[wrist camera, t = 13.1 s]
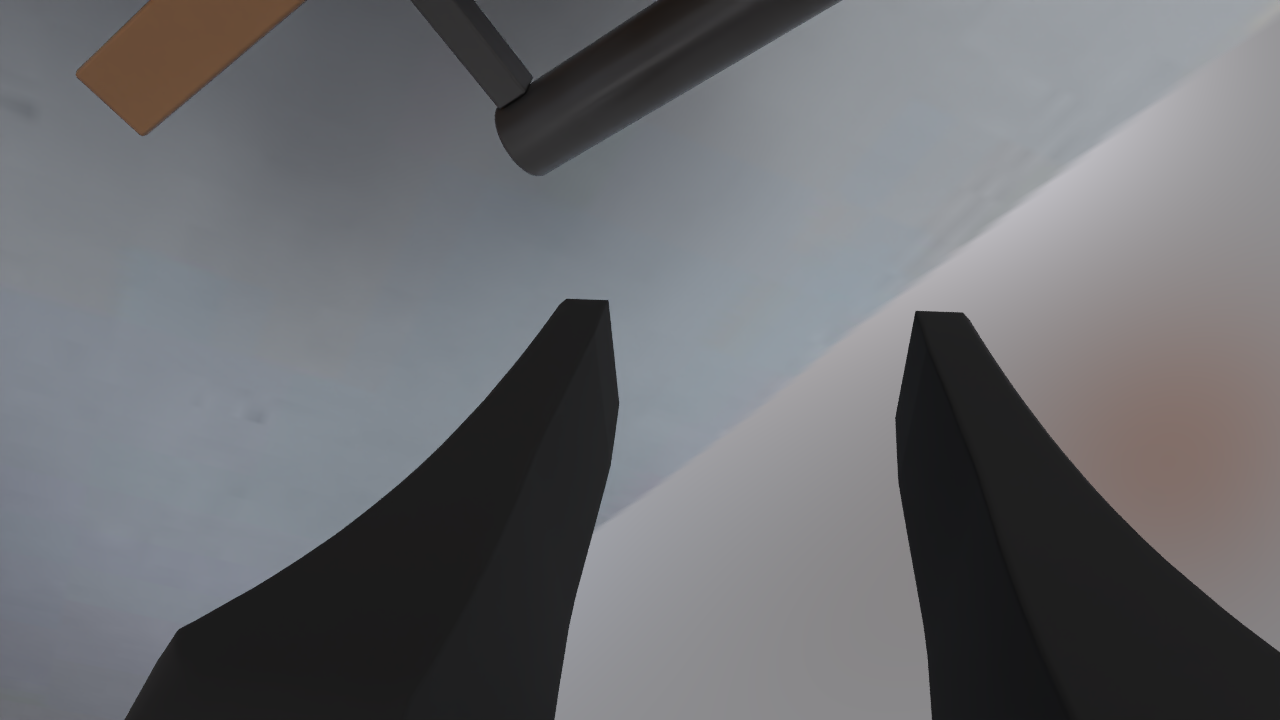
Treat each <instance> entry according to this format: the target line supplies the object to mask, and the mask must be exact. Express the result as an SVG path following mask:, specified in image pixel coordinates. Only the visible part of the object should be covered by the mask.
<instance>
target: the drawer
mask: <svg viewBox="0 0 1280 720" xmlns="http://www.w3.org/2000/svg"><path fill="white" fill-rule="evenodd" d="M305 1H307V0H149V1H148V2H147V3H146V4H145V5H144V6H143V7H142V8H141V9H140V10H139V11H138V12H137V13H136V14H135V15H134V16H133V17H132V18H131V19H130V20H129V21H128V22H127V23H126V24H125V25H124V26H123V27H121V28H120V29H119V30H118V31H117V32H116V33H115V34H114V35H113V36H112V37H111V38H110V39H109V40H108V41H107V42H106V43H105V44H104V45H103V46H102V47H101V48H100V49H99V50H98V51H97V52H96V53H95V54H93V55H92V56H91V57H90V58H89V59H88V60H87V61H86V62H85V63H84V64H83V65H82V66H81V67H80V68H79V69H78V70H77V72H76V76H77V78H78V79H79V80H80V81H82V82H83V83H84V84H85V85H86V86H87V87H88V88H89V89H90V90H91V91H92V92H94V93H95V94H96V95H97V96H98V97H99V98H100V99H101V100H102V101H103V102H104V103H105V104H107V105H108V106H109V107H110V108H111V109H112V110H113V111H114V112H115V113H116V114H117V115H119V116H120V117H121V118H122V119H123V120H124V121H125V122H126V123H127V124H128V125H129V126H131V127H132V128H133V129H134V130H135V131H136V132H137V133H138V134H139V135H141V136H144V135H147V134H149V133H150V132H151V131H152V130H153V129H154V128H156V127H157V126H158V125H159V124H160V123H162V122H163V121H164V120H165V119H166V118H168V117H169V116H170V115H171V114H172V113H173V112H175V111H176V110H177V109H178V108H179V107H181V106H182V105H183V104H184V103H185V102H187V101H188V100H189V99H190V98H191V97H193V96H194V95H195V94H196V93H197V92H198V91H200V90H201V89H202V88H203V87H204V86H206V85H207V84H208V83H209V82H210V81H212V80H213V79H214V78H215V77H216V76H217V75H219V74H220V73H221V72H222V71H223V70H225V69H226V68H227V67H228V66H229V65H231V64H232V63H233V62H234V61H235V60H237V59H238V58H239V57H240V56H241V55H242V54H244V53H245V52H246V51H247V50H248V49H250V48H251V47H252V46H253V45H254V44H256V43H257V42H258V41H259V40H260V39H261V38H263V37H264V36H265V35H266V34H267V33H269V32H270V31H271V30H272V29H273V28H275V27H276V26H277V25H278V24H279V23H280V22H282V21H283V20H284V19H285V18H286V17H288V16H289V15H290V14H291V13H292V12H294V11H295V10H296V9H297V8H298V7H300V6H301V5H302V4H303V3H304V2H305ZM411 1H412V3H413V4H414V5H415V6H416V7H417V9H418V10H419V11H420V12H421V14H422V15H423V16H424V17H425V18H426V20H427V21H428V22H429V23H430V25H431V26H432V27H433V28H434V30H435V31H436V32H437V33H438V34H439V36H440V37H441V38H442V39H443V41H444V42H445V43H446V44H447V45H448V47H449V48H450V49H451V50H452V52H453V53H454V54H455V55H456V56H457V58H458V59H459V60H460V61H461V63H462V64H463V65H464V66H465V67H466V69H467V70H468V71H469V72H470V74H471V75H472V76H473V77H474V79H475V80H476V81H477V82H478V83H479V85H480V86H481V87H482V88H483V90H484V91H485V92H486V93H487V94H488V96H489V97H490V98H491V99H492V101H493V102H494V103H495V104H496V105H497V109H496V112H495V124H496V129H497V132H498V135H499V138H500V140H501V142H502V144H503V146H504V148H505V149H506V151H507V152H508V154H509V155H510V157H511V158H512V159H513V160H514V162H515V163H516V164H517V165H518V166H519V167H520V168H522V169H523V170H524V171H526V172H527V173H529V174H531V175H535V176H542V175H545V174H547V173H548V172H550V171H552V170H553V169H555V168H557V167H559V166H560V165H562V164H564V163H565V162H567V161H569V160H570V159H572V158H574V157H576V156H577V155H579V154H581V153H582V152H584V151H586V150H588V149H589V148H591V147H593V146H594V145H596V144H598V143H599V142H601V141H603V140H605V139H606V138H608V137H610V136H611V135H613V134H615V133H617V132H618V131H620V130H622V129H623V128H625V127H627V126H628V125H630V124H632V123H634V122H635V121H637V120H639V119H640V118H642V117H644V116H645V115H647V114H649V113H651V112H652V111H654V110H656V109H657V108H659V107H661V106H663V105H664V104H666V103H668V102H669V101H671V100H673V99H674V98H676V97H678V96H680V95H681V94H683V93H685V92H686V91H688V90H690V89H692V88H693V87H695V86H697V85H698V84H700V83H702V82H703V81H705V80H707V79H709V78H710V77H712V76H714V75H715V74H717V73H719V72H720V71H722V70H724V69H726V68H727V67H729V66H731V65H732V64H734V63H736V62H738V61H739V60H741V59H743V58H744V57H746V56H748V55H749V54H751V53H753V52H755V51H756V50H758V49H760V48H761V47H763V46H765V45H766V44H768V43H770V42H772V41H773V40H775V39H777V38H778V37H780V36H782V35H784V34H785V33H787V32H789V31H790V30H792V29H794V28H795V27H797V26H799V25H801V24H802V23H804V22H806V21H807V20H809V19H811V18H813V17H814V16H816V15H818V14H819V13H821V12H823V11H824V10H826V9H828V8H830V7H831V6H833V5H835V4H836V3H838V2H840V1H841V0H657V1H656V2H654V3H653V4H651V5H650V6H648V7H647V8H645V9H644V10H642V11H641V12H639V13H638V14H636V15H634V16H633V17H631V18H630V19H628V20H627V21H625V22H624V23H622V24H621V25H619V26H618V27H616V28H615V29H613V30H612V31H610V32H609V33H607V34H605V35H604V36H602V37H601V38H599V39H598V40H596V41H595V42H593V43H592V44H590V45H589V46H587V47H586V48H584V49H583V50H581V51H579V52H578V53H576V54H575V55H573V56H572V57H570V58H569V59H567V60H566V61H564V62H563V63H561V64H560V65H558V66H557V67H555V68H554V69H552V70H550V71H549V72H547V73H546V74H544V75H543V76H541V77H540V78H538V79H537V80H535V81H534V82H532V83H531V81H532V79H533V77H532V75H531V74H530V72H529V71H528V70H527V69H526V67H525V66H524V65H523V63H522V62H521V61H520V60H519V58H518V57H517V56H516V54H515V53H514V52H513V51H512V49H511V48H510V47H509V45H508V44H507V43H506V41H505V40H504V39H503V38H502V36H501V35H500V34H499V32H498V31H497V30H496V29H495V27H494V26H493V25H492V23H491V22H490V21H489V20H488V18H487V17H486V16H485V14H484V13H483V12H482V11H481V9H480V8H479V7H478V5H477V4H476V3H475V1H474V0H411ZM530 83H531V84H530Z"/></svg>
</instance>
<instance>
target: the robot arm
mask: <svg viewBox="0 0 1280 720" xmlns="http://www.w3.org/2000/svg"><path fill="white" fill-rule="evenodd" d="M618 408H619V398H618V388H617V378H616V369H615V359H614V350H613V340H612V331H611V321H610V311H609V302H608V300H585V299H566V300H564V301H563V302H562V303H561V304H560V305H559V306H558V308H557V309H556V310H555V312H554V313H553V314H552V316H551V317H550V319H549V320H548V321H547V323H546V324H545V325H544V327H543V328H542V329H541V331H540V332H539V333H538V335H537V336H536V337H535V339H534V340H533V341H532V343H531V344H530V345H529V346H528V348H527V349H526V350H525V352H524V353H523V354H522V355H521V357H520V358H519V359H518V360H517V362H516V363H515V364H514V365H513V367H512V368H511V369H510V370H509V371H508V372H507V374H506V375H505V376H504V377H503V378H502V380H501V381H500V382H499V383H498V384H497V386H496V387H495V388H494V389H493V390H492V392H491V393H490V394H489V395H488V396H487V397H486V399H485V400H484V401H483V402H482V403H481V404H480V405H479V406H478V407H477V408H476V409H475V411H474V412H473V413H472V414H471V415H470V416H469V417H468V418H467V419H466V420H465V421H464V422H463V423H462V424H461V425H460V426H459V428H458V429H457V430H456V431H455V432H454V433H453V434H452V435H451V436H450V437H449V438H448V439H447V440H446V441H445V442H444V443H443V444H442V445H441V446H440V447H439V448H438V449H437V450H436V451H435V452H434V453H433V454H432V455H431V456H430V457H429V458H428V459H427V460H425V461H424V462H423V463H422V464H421V465H420V466H419V467H418V468H417V469H416V470H415V471H413V472H412V473H411V474H410V475H409V476H408V477H407V478H406V479H404V480H403V481H402V482H401V483H400V484H399V485H398V486H396V487H395V488H394V489H393V490H392V491H390V492H389V493H388V494H387V495H386V496H384V497H383V498H382V499H381V500H379V501H378V502H377V503H376V504H374V505H373V506H372V507H371V508H369V509H368V510H367V511H366V512H365V513H363V514H362V515H361V516H359V517H358V518H357V519H355V520H354V521H353V522H352V523H350V524H349V525H348V526H346V527H345V528H344V529H342V530H341V531H340V532H338V533H337V534H336V535H334V536H333V537H331V538H330V539H328V540H327V541H326V542H324V543H323V544H321V545H320V546H318V547H317V548H315V549H314V550H312V551H311V552H309V553H308V554H306V555H305V556H303V557H302V558H300V559H299V560H297V561H296V562H294V563H293V564H291V565H290V566H288V567H287V568H285V569H283V570H282V571H280V572H279V573H277V574H276V575H274V576H272V577H271V578H269V579H267V580H266V581H264V582H263V583H261V584H259V585H258V586H256V587H254V588H253V589H251V590H249V591H247V592H245V593H244V594H242V595H240V596H238V597H237V598H235V599H233V600H231V601H229V602H228V603H226V604H224V605H222V606H221V607H219V608H217V609H215V610H213V611H212V612H210V613H208V614H206V615H205V616H203V617H201V618H199V619H197V620H196V621H194V622H192V623H190V624H188V625H186V626H184V627H182V628H180V629H179V630H178V631H177V632H176V634H175V636H174V637H173V639H172V640H171V642H170V643H169V645H168V646H167V648H166V649H165V651H164V652H163V654H162V655H161V657H160V658H159V659H158V661H157V663H156V664H155V666H154V668H153V670H152V672H151V673H150V675H149V677H148V679H147V681H146V682H145V684H144V686H143V688H142V690H141V691H140V693H139V695H138V697H137V699H136V700H135V702H134V704H133V706H132V707H131V709H130V711H129V713H128V715H127V716H126V718H125V720H554V718H555V712H556V705H557V698H558V691H559V684H560V679H561V672H562V666H563V660H564V654H565V648H566V642H567V635H568V629H569V624H570V619H571V615H572V610H573V606H574V601H575V597H576V593H577V589H578V585H579V582H580V578H581V575H582V571H583V567H584V563H585V560H586V556H587V552H588V548H589V545H590V541H591V538H592V534H593V530H594V526H595V523H596V519H597V515H598V512H599V508H600V504H601V500H602V496H603V493H604V489H605V485H606V481H607V477H608V473H609V469H610V466H611V459H612V452H613V445H614V439H615V431H616V424H617V416H618ZM895 419H896V443H897V463H898V480H899V488H900V494H901V499H902V506H903V511H904V517H905V523H906V529H907V535H908V540H909V546H910V551H911V557H912V563H913V568H914V574H915V580H916V585H917V591H918V597H919V602H920V608H921V613H922V619H923V625H924V632H925V640H926V648H927V655H928V668H929V682H930V696H931V710H932V720H1280V652H1279V651H1277V650H1276V649H1275V648H1273V647H1272V646H1271V645H1269V644H1268V643H1267V642H1265V641H1264V640H1263V639H1261V638H1260V637H1259V636H1257V635H1256V634H1255V633H1253V632H1252V631H1251V630H1249V629H1248V628H1247V627H1245V626H1244V625H1243V624H1242V623H1240V622H1239V621H1238V620H1237V619H1235V618H1234V617H1233V616H1232V615H1230V614H1229V613H1228V612H1227V611H1225V610H1224V609H1223V608H1222V607H1220V606H1219V605H1218V604H1217V603H1216V602H1215V601H1213V600H1212V599H1211V598H1210V597H1209V596H1207V595H1206V594H1205V593H1204V592H1203V591H1201V590H1200V589H1199V588H1198V587H1197V586H1196V585H1194V584H1193V583H1192V582H1191V581H1190V580H1188V579H1187V578H1186V577H1185V576H1184V575H1183V574H1182V573H1180V572H1179V571H1178V570H1177V569H1176V568H1174V567H1173V566H1172V565H1171V564H1170V563H1169V562H1168V561H1166V560H1165V559H1164V558H1163V557H1162V556H1161V555H1160V554H1159V553H1158V552H1157V551H1156V550H1155V549H1153V548H1152V547H1151V546H1150V545H1149V544H1148V543H1147V542H1146V541H1145V540H1144V539H1143V538H1142V537H1141V536H1140V535H1138V533H1137V532H1136V531H1135V530H1134V529H1133V528H1132V527H1131V526H1130V525H1129V524H1128V523H1127V522H1126V521H1125V520H1124V519H1123V518H1122V517H1121V516H1120V515H1118V513H1117V512H1116V511H1115V510H1114V509H1113V508H1112V507H1111V506H1110V505H1109V504H1108V503H1107V502H1106V501H1105V499H1104V498H1103V497H1102V496H1101V495H1100V494H1099V493H1098V492H1097V491H1096V490H1095V488H1094V487H1093V486H1092V485H1091V484H1090V483H1089V482H1088V481H1087V480H1086V478H1085V477H1084V476H1083V475H1082V474H1081V473H1080V471H1079V470H1078V469H1077V468H1076V467H1075V466H1074V464H1073V463H1072V462H1071V461H1070V460H1069V459H1068V457H1067V456H1066V455H1065V454H1064V453H1063V451H1062V450H1061V449H1060V448H1059V446H1058V445H1057V444H1056V443H1055V442H1054V440H1053V439H1052V438H1051V437H1050V435H1049V434H1048V433H1047V432H1046V430H1045V429H1044V428H1043V426H1042V425H1041V424H1040V422H1039V421H1038V420H1037V418H1036V417H1035V416H1034V414H1033V413H1032V412H1031V410H1030V409H1029V408H1028V406H1027V405H1026V404H1025V402H1024V401H1023V400H1022V398H1021V397H1020V396H1019V394H1018V393H1017V391H1016V390H1015V389H1014V388H1013V386H1012V385H1011V383H1010V382H1009V380H1008V379H1007V377H1006V376H1005V374H1004V373H1003V371H1002V370H1001V368H1000V367H999V365H998V364H997V363H996V361H995V359H994V358H993V356H992V355H991V353H990V352H989V350H988V349H987V347H986V346H985V344H984V342H983V341H982V339H981V338H980V336H979V335H978V333H977V331H976V330H975V328H974V326H973V325H972V323H971V322H970V320H969V319H968V318H967V317H966V316H965V315H964V313H958V312H930V311H916V312H915V317H914V322H913V327H912V333H911V339H910V343H909V349H908V354H907V359H906V364H905V370H904V375H903V380H902V385H901V391H900V396H899V402H898V407H897V412H896V417H895Z"/></svg>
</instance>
